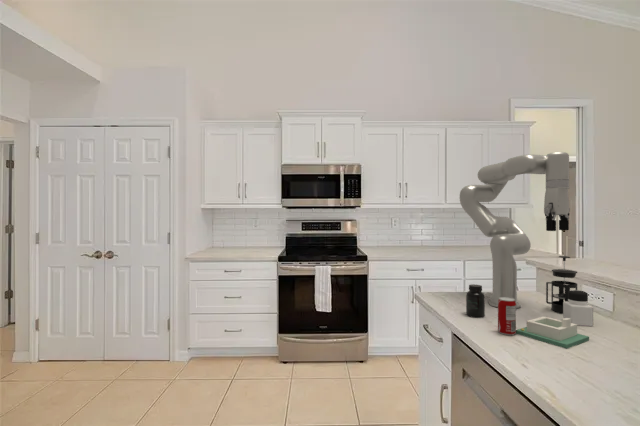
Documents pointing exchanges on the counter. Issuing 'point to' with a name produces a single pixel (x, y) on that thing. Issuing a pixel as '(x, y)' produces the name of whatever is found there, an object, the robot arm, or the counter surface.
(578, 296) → the medicine bottle
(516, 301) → the robot arm
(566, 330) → the board
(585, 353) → the counter surface
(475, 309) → the supplement bottle
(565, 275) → the french press
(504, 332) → the soda can
